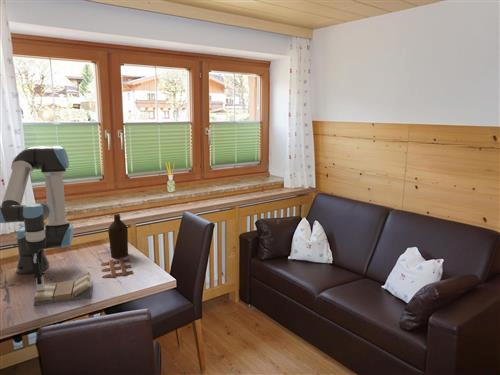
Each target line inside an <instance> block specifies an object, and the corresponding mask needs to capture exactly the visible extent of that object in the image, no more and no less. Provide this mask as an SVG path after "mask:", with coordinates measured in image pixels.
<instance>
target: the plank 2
mask: <svg viewBox="0 0 500 375" xmlns="http://www.w3.org/2000/svg"><path fill="white" fill-rule="evenodd" d="M91 276H92V275H91V274H90V272H89V271H87V272H86V273H84V274H83V275H81V276H79V277H78V278H76V279H75V280H74V288H73V292H72V293H73V294H74V295H75V296H76V295H78V294H79V293H81V292H82V291H84V290H85V289H87V288H88V287H89V285H90V282H91Z"/></svg>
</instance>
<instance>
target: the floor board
mask: <svg viewBox="0 0 500 375" xmlns="http://www.w3.org/2000/svg"><path fill="white" fill-rule="evenodd" d="M74 283H75V280H68V281H60V282H57V287H56V290H55V293H54V297H53V300H46V301H35V302H34V301H33V307H39V306H44V305H52V304H58V303H65V302H73V301H78V300H79V301H80V300H85V299H86V300H88V299H91V298H92V295H93V294H92V293H93V288H94V287H93V284H94V283H93V281H90V285H89V287H88V288H87V289H85V290H84V291H82V292H81V293H79V294H78V295H76V296H75V295H74V294H73V293H72V292H73V288H74Z"/></svg>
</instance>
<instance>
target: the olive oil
mask: <svg viewBox="0 0 500 375" xmlns="http://www.w3.org/2000/svg"><path fill="white" fill-rule="evenodd" d="M107 232H108V239H109V240H108V241H109V249H110V256H111V257H112V258H114V259H121V258H126V257H127V256H128V255H129V240H128V239H129V238H128V236H129V235H128V234H129V229H128V226H127V224H126V223H124V222H123V221H122V220H121V213H119V212H118V213H114V214H113V222H111V224H110V225H109V226H108V231H107Z"/></svg>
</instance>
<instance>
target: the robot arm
mask: <svg viewBox="0 0 500 375" xmlns="http://www.w3.org/2000/svg"><path fill="white" fill-rule="evenodd" d="M69 160H70V159H69V156H68V153H67V151H66V149H65V148H64V147H63V146H32V147H28V148H25V149H23V150H22V151H20V152H18V154H17V155H16V156H15V157H14V159H13V160H12V162H11V166H10V168H11V174H10V177H9V180H8V183H7V186H6V188H5V189H6V190H5V193H4V196H3V198H2V203H1V205H0V224H9V223H10V224H11V223H21V222H22V223H23V225H24V226H22V227H21V228H18V229H17V231H16V241H17V249H18V260H17V264H16V272H17V273H18V274H21V275H28V274H29V275H31V274H33V275H34V276H33V278H34V279H35V283H36V292H37V291H41V290H44V284H45V280H44V275H45V274H46V272H44V271H45V270H47V269H48V268H49V267H50V261H49V259H48V257H47V256H46V253H45V250H49V249H62V248H63V249H64V248H69V247H70V246H71V245H72V242H73V237H74V226H73V225H72V224H70V221H69V220H68V219H67V213H66V200H65V199H66V198H65V187H64V186H65V185H64V174H65V173H67V169H69V168H70V162H69ZM34 170H40V172H41V175H43V176H44V183H45V194H46V195H45V196H46V202H42V201H41V202H37V203H29V204H22V202H23V199H24V196H25V190H26V188H27V186H28V185H27V184H28V181H29V176H30V175H31V174H32V173H33V171H34ZM46 219H47V222H46V223H45V220H46Z"/></svg>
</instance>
